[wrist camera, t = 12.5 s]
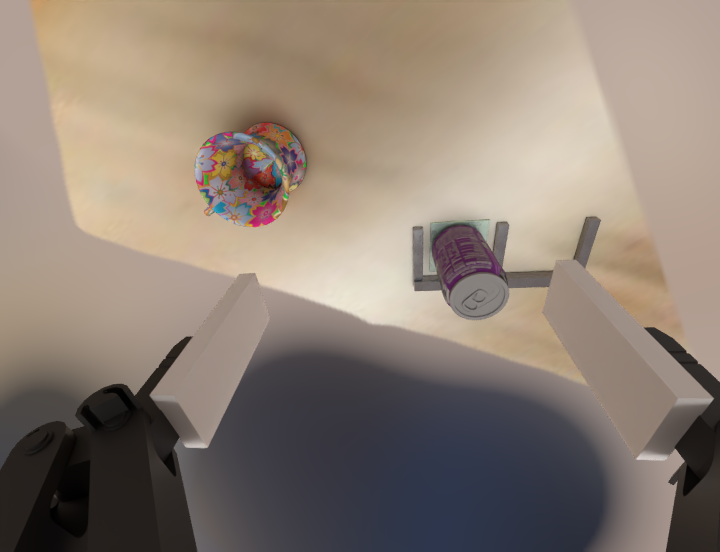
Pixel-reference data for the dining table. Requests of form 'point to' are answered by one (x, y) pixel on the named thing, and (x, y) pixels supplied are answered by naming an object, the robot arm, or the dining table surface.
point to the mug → (250, 173)
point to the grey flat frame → (495, 253)
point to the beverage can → (469, 273)
